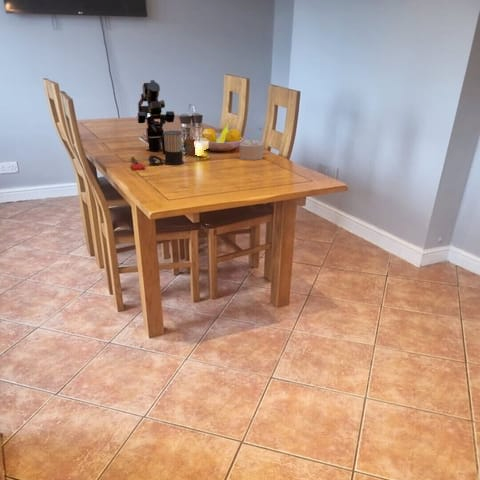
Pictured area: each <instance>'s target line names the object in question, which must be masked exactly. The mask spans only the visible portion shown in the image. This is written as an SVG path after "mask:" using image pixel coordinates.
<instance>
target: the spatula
mask: <svg viewBox="0 0 480 480" xmlns="http://www.w3.org/2000/svg"><path fill="white" fill-rule="evenodd" d="M131 161H132V162H133V163H132V164H130V166H131V169H132V170H133V171H141V170H142V171H144V170H146V168H145V165H143V163H138V162H137V160H136V158H135V157H134V156H131Z"/></svg>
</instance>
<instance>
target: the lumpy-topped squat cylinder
mask: <svg viewBox="0 0 480 480" xmlns="http://www.w3.org/2000/svg"><path fill="white" fill-rule="evenodd" d="M238 148H239V149H238V151H239V152H238V154H239V156H238V159H239V160H243V161H257V160H261V159H264V151H265V150H264V149H265V145H264V143H263V142H261V140H258V139H252V140H250V139H249V138H246V139H243V141H242V143H240V146H239V147H238Z"/></svg>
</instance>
